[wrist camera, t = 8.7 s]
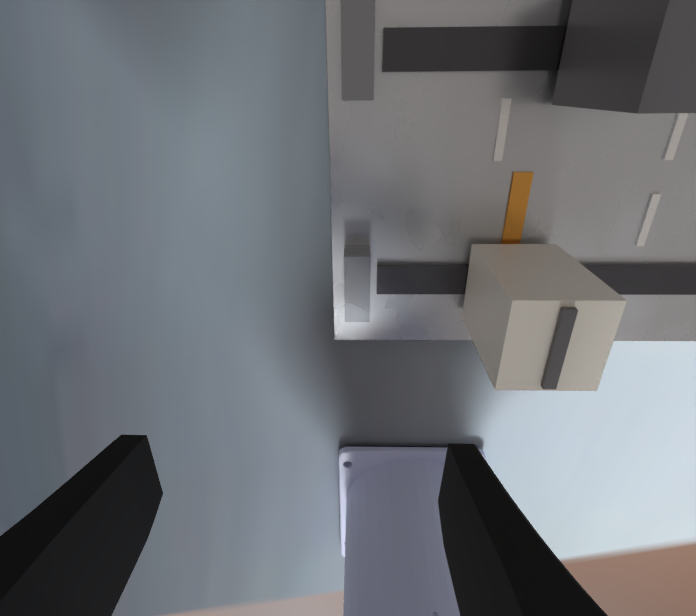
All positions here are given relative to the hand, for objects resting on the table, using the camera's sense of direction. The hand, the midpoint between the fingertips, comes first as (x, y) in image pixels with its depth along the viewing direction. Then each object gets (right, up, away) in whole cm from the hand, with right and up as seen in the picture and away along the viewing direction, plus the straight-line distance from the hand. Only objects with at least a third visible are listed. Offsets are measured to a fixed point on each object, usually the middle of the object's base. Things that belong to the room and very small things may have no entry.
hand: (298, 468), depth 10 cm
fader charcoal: (+10, +12, +3) cm, 16 cm away
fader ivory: (+8, +5, +7) cm, 11 cm away
